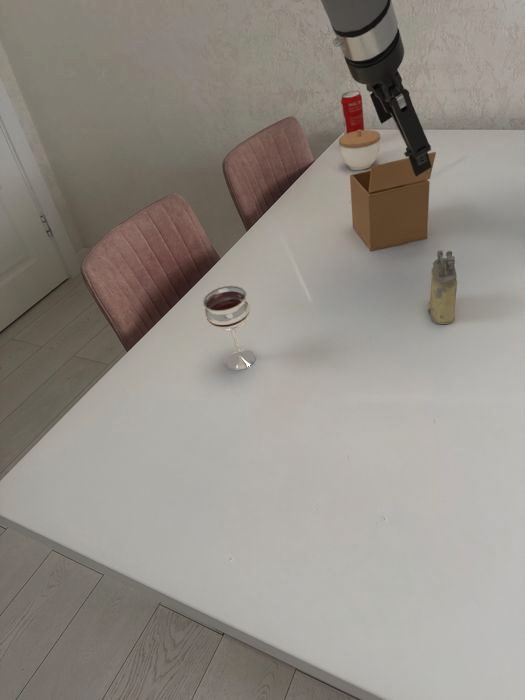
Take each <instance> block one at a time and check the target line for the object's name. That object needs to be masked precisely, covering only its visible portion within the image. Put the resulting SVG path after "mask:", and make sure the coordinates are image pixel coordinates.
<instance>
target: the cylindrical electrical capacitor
mask: <svg viewBox="0 0 525 700" xmlns="http://www.w3.org/2000/svg"><path fill="white" fill-rule="evenodd" d="M443 255H444V251H443V250H441V249H440V250H437V254H436V257H437V259H435V260H434V261H433V262H432V268H431V276H430V291H429V293H430V294H429V295H430V296H429V302H428V305H429V308H428V309H427V312H428V314H430V320H431V321H432V322H434V323H435V324H438V325H447V324H450V323H452V322H453V321H454V320H455V309H456V301H457V300H456V298H457V290H458V289H457V288H458V279H457V271H456V267H455V261H456V258H455V256H454V255H453V251H451V250H447V251H446V255H445V256H446V257H443Z"/></svg>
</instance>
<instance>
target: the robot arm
mask: <svg viewBox="0 0 525 700" xmlns="http://www.w3.org/2000/svg"><path fill="white" fill-rule="evenodd" d="M320 2H321V4H322V7H323V9H324V11H325V13H326V15H327V18H328V20H329V23H330V26H331V28H332V30H333V32H334V35H335V36H336V37H335V38H334V39H333V40H332V43H333V45H334V47H336V48H338V47H340V50H341V53H342V54H343V57H344V61H345V63H346V65H347V68H348V70H349V73H350V76H351V77H352V79H353V80H354V81H355V82H356V83H358V84H361V85H364V86H365V87H366V91H367V92H368V93H370V94H369V96H370V99H371V102H372V104H373V107H374V110H375V112H376V114H377V118H378V120H379V122H380V123H381V125H383V124H384V123H385V122H387V121H389V120H390V119H393V121H394V124H395V125H396V128H397V130H398V132H399V134H400V136H401V138H402V140H403V142H404V145H405V146H406V148H405V152H404V156H405V157H406V158H409V160H410V163H411V166H412V169H413V171H414V174H415V176H416V177H417V176H418V175H420V174H421V173H423V172H425V171H426V170H428V169H430V168H431V167H432V166H431V163H430V159H429V156H428V153H430V152H431V151H432V146H431V144H430V143H429V140H428V139H427V135H426V133H425V131H424V129H423V126H422V124H421V122H420V119H419V116H418V114H417V112H416V109H415V107H414V104H413V102H412V98H411V95H410V91H409V90H408V89H406V88H404V87H405V86H404V84H403V78H402V76H401V74H400V72H399V68H400V66H401V64H402V63H403V60H404V56H405V47H404V43H403V39H402V36H401V33H400V32H401V31H400V29H399V27H398V25H399V23H398V19H397V16H396V13H395V9H394V4H393V2H392V0H320Z"/></svg>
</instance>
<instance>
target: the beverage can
mask: <svg viewBox="0 0 525 700" xmlns="http://www.w3.org/2000/svg"><path fill="white" fill-rule="evenodd" d="M340 103H341V114H342V115H341V116H342V124H343V133H344V134H343V135H345V134H347V133H350V132H354V131H357V130H365V123H364V121H365V120H364V110H363V109H364V108H363V97H362V94H361V92H360V90H349V91H346V92H344V93H342V95H341V100H340Z"/></svg>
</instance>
